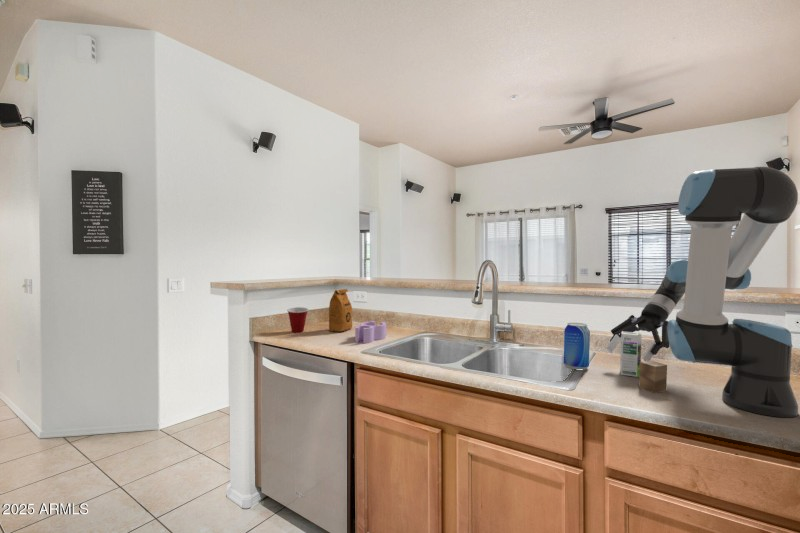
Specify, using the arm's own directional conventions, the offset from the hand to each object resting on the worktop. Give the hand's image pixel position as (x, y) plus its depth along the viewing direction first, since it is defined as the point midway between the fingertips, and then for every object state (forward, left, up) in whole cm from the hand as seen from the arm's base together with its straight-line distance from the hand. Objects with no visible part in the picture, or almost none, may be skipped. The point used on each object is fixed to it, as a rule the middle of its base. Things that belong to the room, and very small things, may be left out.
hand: (625, 355), depth 130 cm
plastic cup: (+107, +100, -7) cm, 146 cm away
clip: (+80, +68, -7) cm, 106 cm away
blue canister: (+12, +10, -7) cm, 17 cm away
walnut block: (-13, +5, -7) cm, 16 cm away
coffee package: (+104, +78, -7) cm, 130 cm away
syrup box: (0, -2, -7) cm, 7 cm away
